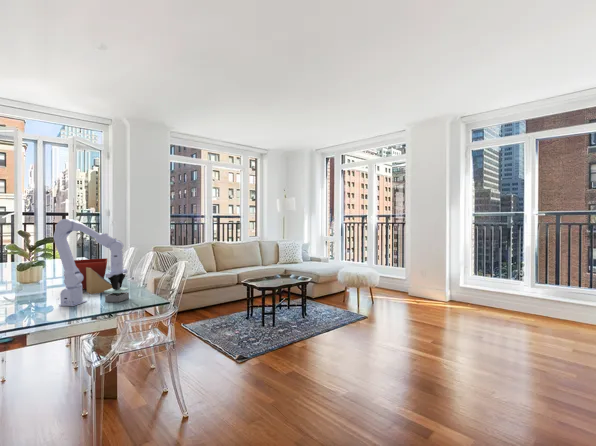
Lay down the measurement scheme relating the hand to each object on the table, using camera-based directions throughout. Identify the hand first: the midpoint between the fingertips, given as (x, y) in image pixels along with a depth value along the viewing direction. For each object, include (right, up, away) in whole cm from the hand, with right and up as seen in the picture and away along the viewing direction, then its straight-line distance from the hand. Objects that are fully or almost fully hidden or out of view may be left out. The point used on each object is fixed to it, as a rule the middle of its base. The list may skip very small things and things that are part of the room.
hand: (116, 288), depth 178 cm
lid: (0, -1, 0) cm, 1 cm away
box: (0, -6, 0) cm, 6 cm away
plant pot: (-34, -6, +31) cm, 47 cm away
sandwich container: (-20, -6, +22) cm, 31 cm away
